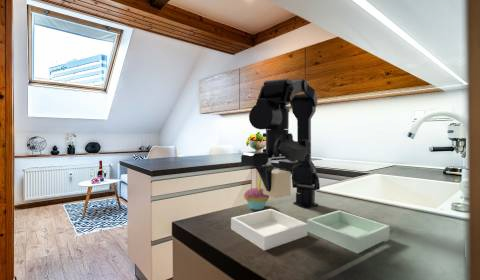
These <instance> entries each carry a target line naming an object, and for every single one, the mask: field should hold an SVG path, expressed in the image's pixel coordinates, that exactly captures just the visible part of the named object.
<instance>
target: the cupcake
mask: <svg viewBox="0 0 480 280" xmlns="http://www.w3.org/2000/svg"><path fill="white" fill-rule="evenodd" d="M261 181H262V179H261V177H260V176H259V178H258V186H257V188H256V187H255V188H254V187H253V188H250V189H248V190H246V191H245V192H244V194H243V198H244V200H246V201H247V204H248V207H249V209H251V210H257V211H258V210H259V211H261V210H263V209H264V208H265V206H266V204H267V202H268V200H269V199H270V198H269V197H270V196H268V195H265V194H263V188H261Z"/></svg>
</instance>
